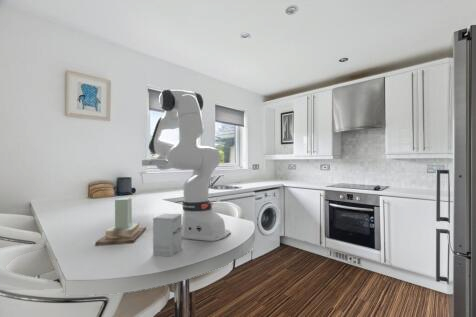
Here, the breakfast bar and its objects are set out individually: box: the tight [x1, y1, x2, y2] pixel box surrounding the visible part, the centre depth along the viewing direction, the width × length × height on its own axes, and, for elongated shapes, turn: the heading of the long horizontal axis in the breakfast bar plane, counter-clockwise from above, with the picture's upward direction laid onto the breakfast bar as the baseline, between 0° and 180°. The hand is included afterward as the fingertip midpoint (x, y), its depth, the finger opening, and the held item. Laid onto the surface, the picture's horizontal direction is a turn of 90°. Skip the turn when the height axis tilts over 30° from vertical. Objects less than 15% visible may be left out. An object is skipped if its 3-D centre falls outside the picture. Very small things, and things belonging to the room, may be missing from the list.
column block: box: [114, 197, 133, 229], centre depth 96 cm, size 5×5×12 cm
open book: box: [94, 223, 147, 246], centre depth 96 cm, size 14×18×4 cm
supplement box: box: [152, 213, 183, 257], centre depth 78 cm, size 7×7×13 cm
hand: (158, 162), depth 119 cm, fingers open, 8 cm apart
